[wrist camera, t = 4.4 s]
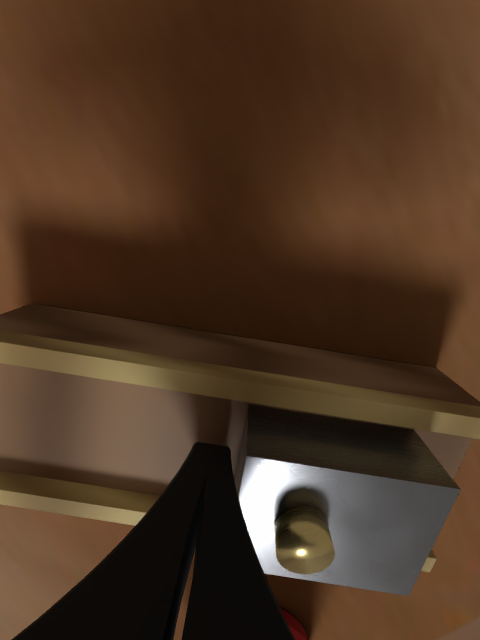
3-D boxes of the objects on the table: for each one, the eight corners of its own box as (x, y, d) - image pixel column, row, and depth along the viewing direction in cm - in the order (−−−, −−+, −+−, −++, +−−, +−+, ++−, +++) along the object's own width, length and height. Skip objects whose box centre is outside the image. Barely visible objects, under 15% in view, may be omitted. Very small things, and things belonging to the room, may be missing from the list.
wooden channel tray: (40, 434, 15) (-27, 500, 12) (31, 303, 13) (-54, 333, 9) (388, 489, 15) (430, 572, 12) (436, 368, 13) (506, 422, 9)
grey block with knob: (231, 499, 12) (222, 596, 9) (248, 404, 11) (245, 479, 7) (378, 522, 12) (421, 627, 9) (414, 430, 11) (481, 516, 7)
